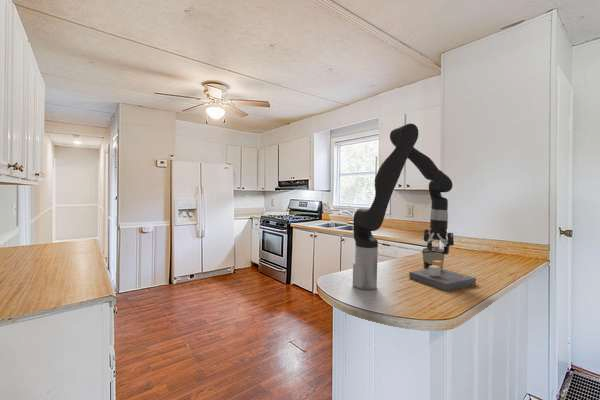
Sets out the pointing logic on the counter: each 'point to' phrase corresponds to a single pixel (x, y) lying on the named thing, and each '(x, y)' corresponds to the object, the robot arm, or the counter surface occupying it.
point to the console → (443, 279)
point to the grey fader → (434, 270)
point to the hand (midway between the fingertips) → (437, 252)
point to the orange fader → (438, 263)
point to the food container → (432, 256)
